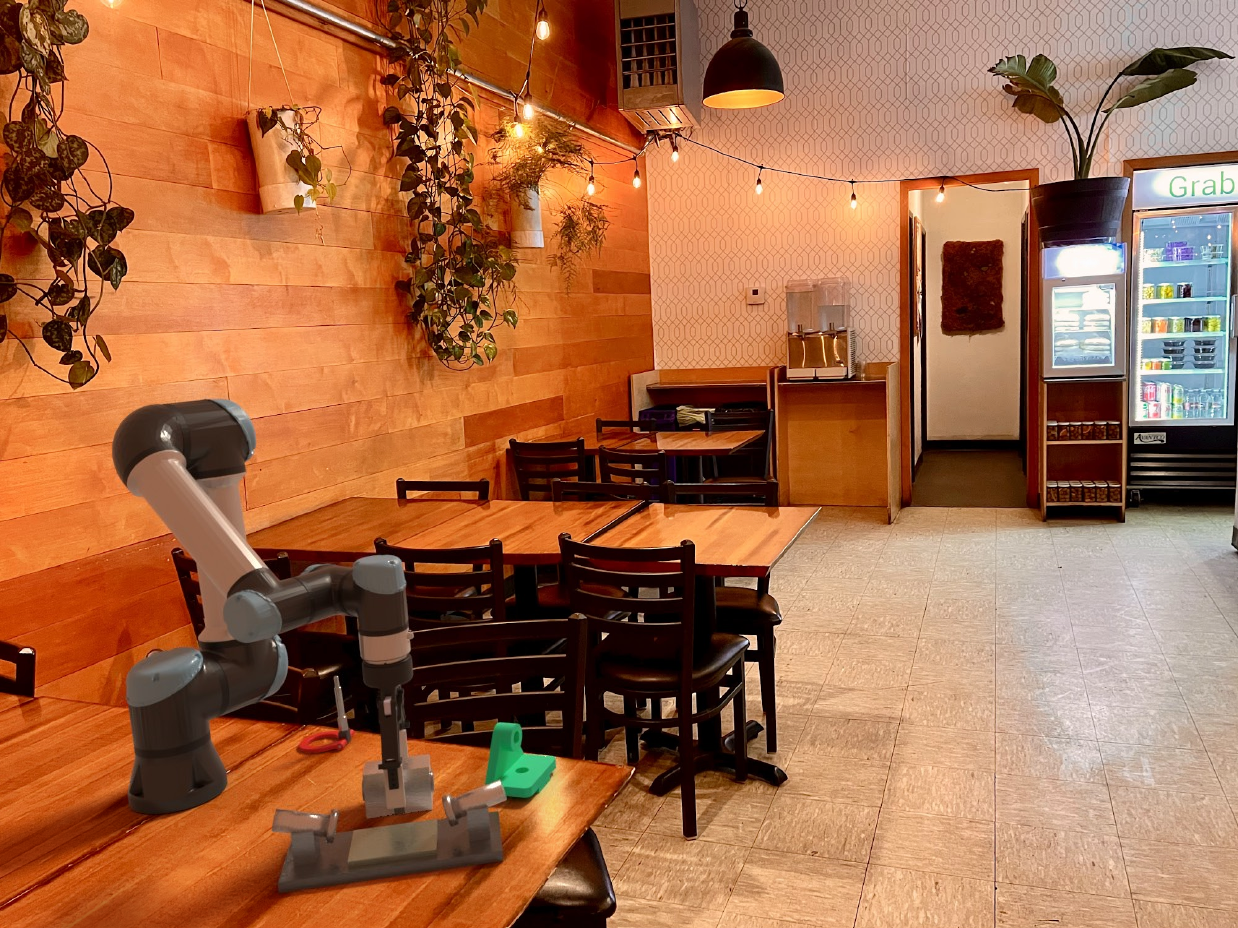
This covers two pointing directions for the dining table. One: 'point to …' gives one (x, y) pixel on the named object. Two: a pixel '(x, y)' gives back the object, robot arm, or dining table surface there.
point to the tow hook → (342, 735)
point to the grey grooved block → (415, 787)
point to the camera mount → (516, 763)
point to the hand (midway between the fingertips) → (398, 787)
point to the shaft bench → (390, 843)
